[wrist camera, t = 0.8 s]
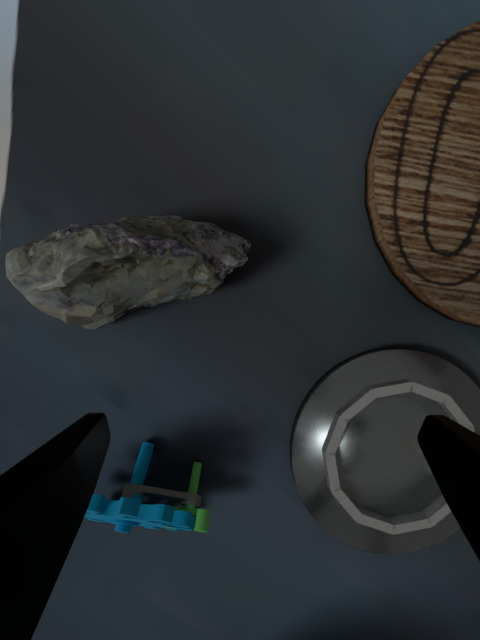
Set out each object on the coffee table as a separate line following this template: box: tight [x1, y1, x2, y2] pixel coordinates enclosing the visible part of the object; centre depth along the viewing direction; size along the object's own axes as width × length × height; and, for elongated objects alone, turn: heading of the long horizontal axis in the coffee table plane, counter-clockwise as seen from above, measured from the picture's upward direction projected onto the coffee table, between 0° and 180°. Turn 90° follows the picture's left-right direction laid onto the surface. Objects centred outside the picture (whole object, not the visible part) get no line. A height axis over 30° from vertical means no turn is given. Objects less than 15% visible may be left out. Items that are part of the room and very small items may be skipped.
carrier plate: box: [290, 348, 480, 554], centre depth 23 cm, size 18×18×2 cm
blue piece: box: [84, 442, 211, 533], centre depth 21 cm, size 11×6×10 cm
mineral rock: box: [5, 215, 251, 329], centre depth 18 cm, size 13×11×10 cm
